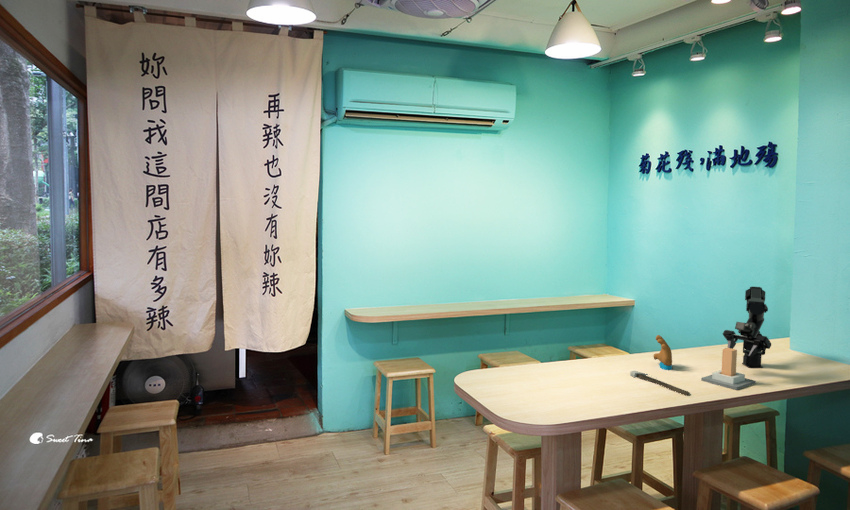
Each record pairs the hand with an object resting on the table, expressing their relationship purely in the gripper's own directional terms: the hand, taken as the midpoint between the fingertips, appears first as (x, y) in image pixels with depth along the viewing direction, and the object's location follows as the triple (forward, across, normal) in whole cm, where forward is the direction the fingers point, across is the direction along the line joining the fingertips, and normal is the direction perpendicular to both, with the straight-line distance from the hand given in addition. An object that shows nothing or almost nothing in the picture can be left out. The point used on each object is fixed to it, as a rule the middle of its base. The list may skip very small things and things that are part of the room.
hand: (738, 354), depth 246 cm
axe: (+31, -13, -16) cm, 37 cm away
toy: (+15, -29, -2) cm, 33 cm away
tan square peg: (+12, 0, +1) cm, 12 cm away
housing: (+13, 0, +2) cm, 13 cm away
